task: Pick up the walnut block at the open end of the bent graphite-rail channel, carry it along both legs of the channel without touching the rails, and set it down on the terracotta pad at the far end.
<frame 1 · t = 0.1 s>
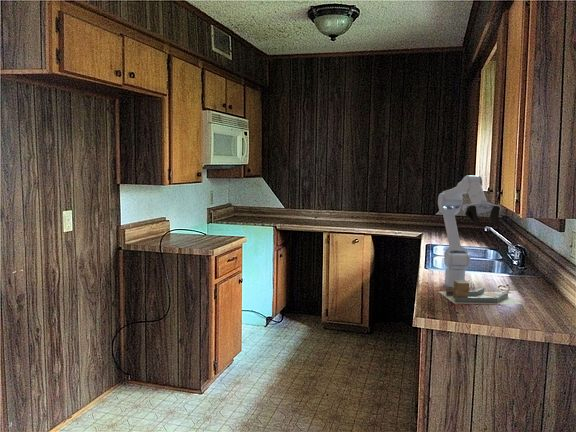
hand: (487, 224, 190), 32 cm above the worktop, tool tilted 50°, fingers open, 7 cm apart
channel board: (478, 298, 203), on the worktop
rails: (478, 294, 203), on the channel board, point 1 cm above the worktop
walnut block: (460, 298, 200), point 1 cm above the worktop, touching channel board
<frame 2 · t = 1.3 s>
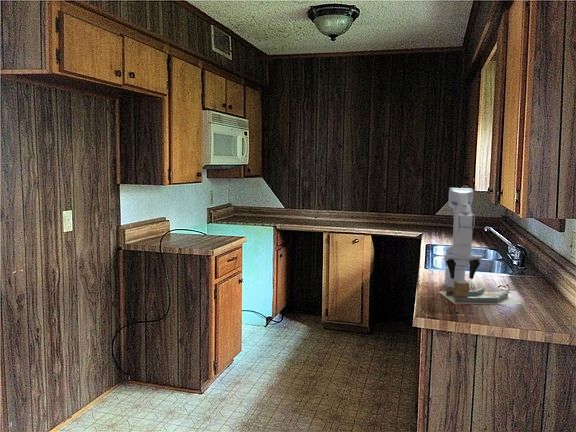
hand: (461, 278, 199), 9 cm above the worktop, tool pointing down, fingers open, 7 cm apart
nothing on the worktop moved.
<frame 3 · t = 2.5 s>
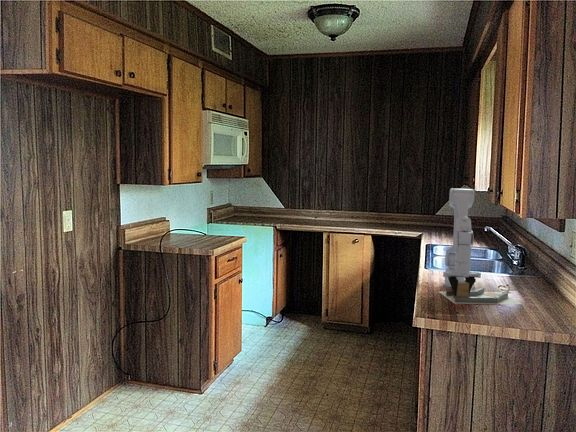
hand: (460, 295, 200), 2 cm above the worktop, tool pointing down, fingers closed on walnut block, 4 cm apart
walnut block: (460, 298, 200), point 1 cm above the worktop, touching channel board, gripper
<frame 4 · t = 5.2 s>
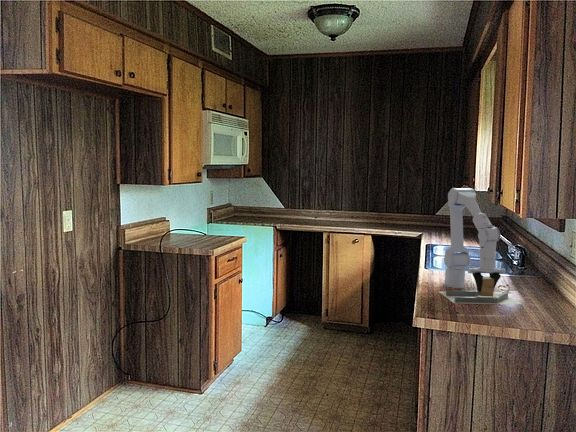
hand: (485, 291, 200), 4 cm above the worktop, tool pointing down, fingers closed on walnut block, 4 cm apart
walnut block: (485, 295, 200), point 2 cm above the worktop, touching gripper
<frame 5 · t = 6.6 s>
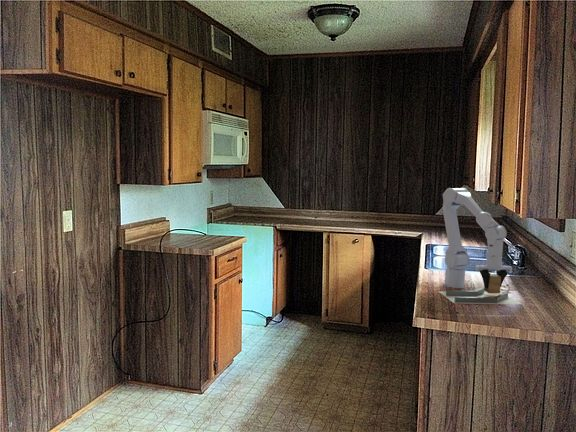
hand: (492, 288, 205), 4 cm above the worktop, tool pointing down, fingers closed on walnut block, 4 cm apart
walnut block: (492, 291, 205), point 2 cm above the worktop, touching gripper
when the fingers open (3 cm above the worktop, at t = 7.9 s): walnut block drops 1 cm, resting on channel board.
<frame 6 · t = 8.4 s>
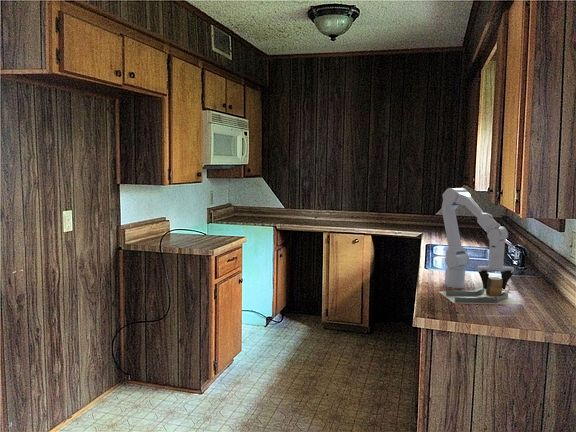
hand: (494, 288, 207), 3 cm above the worktop, tool pointing down, fingers open, 7 cm apart
walnut block: (493, 294, 207), point 1 cm above the worktop, touching channel board
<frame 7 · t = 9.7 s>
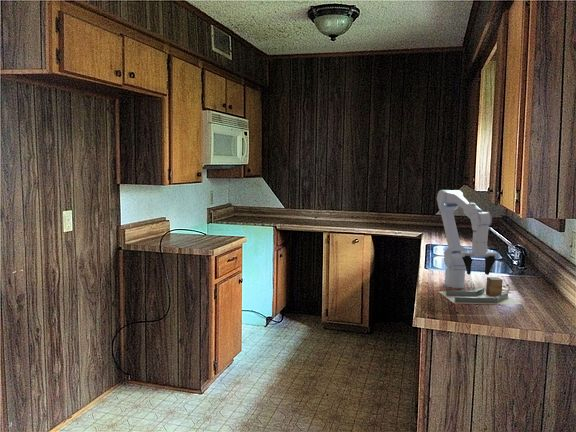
hand: (477, 274, 205), 9 cm above the worktop, tool pointing down, fingers open, 7 cm apart
nothing on the worktop moved.
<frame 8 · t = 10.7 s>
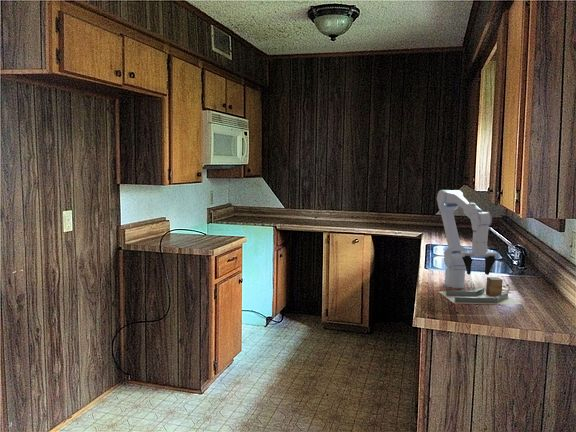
hand: (477, 274, 205), 9 cm above the worktop, tool pointing down, fingers open, 7 cm apart
nothing on the worktop moved.
at the end: walnut block 0.0 cm from the target spot, point 0.7 cm above the worktop; walnut block touching channel board; walnut block tilted 0° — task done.
